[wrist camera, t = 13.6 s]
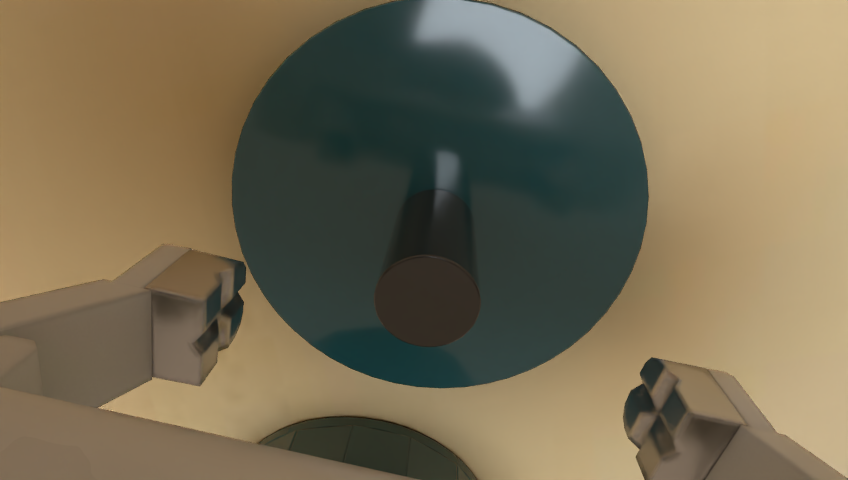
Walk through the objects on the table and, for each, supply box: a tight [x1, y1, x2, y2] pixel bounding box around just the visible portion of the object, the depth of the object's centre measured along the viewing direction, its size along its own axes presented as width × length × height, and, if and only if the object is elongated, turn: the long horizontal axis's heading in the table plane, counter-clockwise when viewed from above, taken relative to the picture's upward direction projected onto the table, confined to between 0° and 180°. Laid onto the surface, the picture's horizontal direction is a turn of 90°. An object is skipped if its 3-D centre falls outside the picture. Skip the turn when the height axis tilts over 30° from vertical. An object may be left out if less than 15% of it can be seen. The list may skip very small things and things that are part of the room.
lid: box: [232, 0, 649, 388], centre depth 14 cm, size 13×13×6 cm
